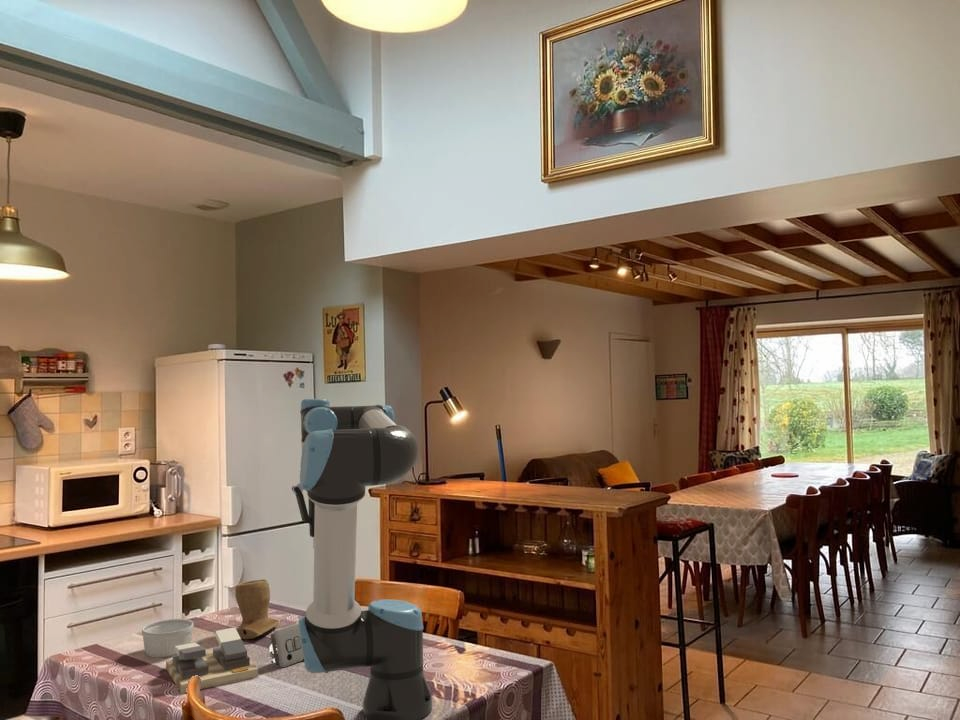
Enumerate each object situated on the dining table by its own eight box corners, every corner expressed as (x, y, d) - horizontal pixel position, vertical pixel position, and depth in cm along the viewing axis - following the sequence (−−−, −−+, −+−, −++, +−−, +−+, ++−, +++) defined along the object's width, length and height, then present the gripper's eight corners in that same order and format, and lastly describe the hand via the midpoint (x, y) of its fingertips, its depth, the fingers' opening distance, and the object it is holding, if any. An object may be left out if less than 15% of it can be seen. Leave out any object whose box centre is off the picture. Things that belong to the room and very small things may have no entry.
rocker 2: (246, 659, 196) (247, 651, 196) (226, 663, 193) (226, 655, 193) (234, 635, 206) (235, 627, 206) (215, 639, 203) (215, 630, 203)
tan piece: (249, 623, 237) (248, 574, 238) (284, 625, 234) (284, 575, 235) (221, 639, 222) (220, 587, 223) (258, 642, 220) (257, 588, 220)
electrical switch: (282, 669, 198) (279, 631, 199) (269, 666, 201) (267, 630, 202) (311, 658, 206) (308, 622, 206) (299, 656, 209) (296, 621, 210)
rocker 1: (205, 659, 190) (205, 649, 191) (184, 663, 188) (184, 653, 188) (195, 652, 201) (195, 642, 201) (175, 655, 198) (174, 646, 198)
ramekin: (202, 643, 220) (201, 618, 220) (179, 660, 207) (179, 633, 207) (157, 643, 221) (157, 618, 221) (132, 659, 208) (132, 633, 208)
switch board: (257, 676, 193) (257, 660, 193) (181, 693, 184) (181, 676, 184) (236, 654, 210) (236, 639, 210) (165, 668, 201) (165, 652, 201)
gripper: (334, 455, 210) (336, 543, 209) (287, 458, 203) (288, 549, 202) (345, 457, 203) (346, 548, 203) (296, 460, 196) (298, 554, 196)
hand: (317, 548), depth 202 cm, fingers closed
